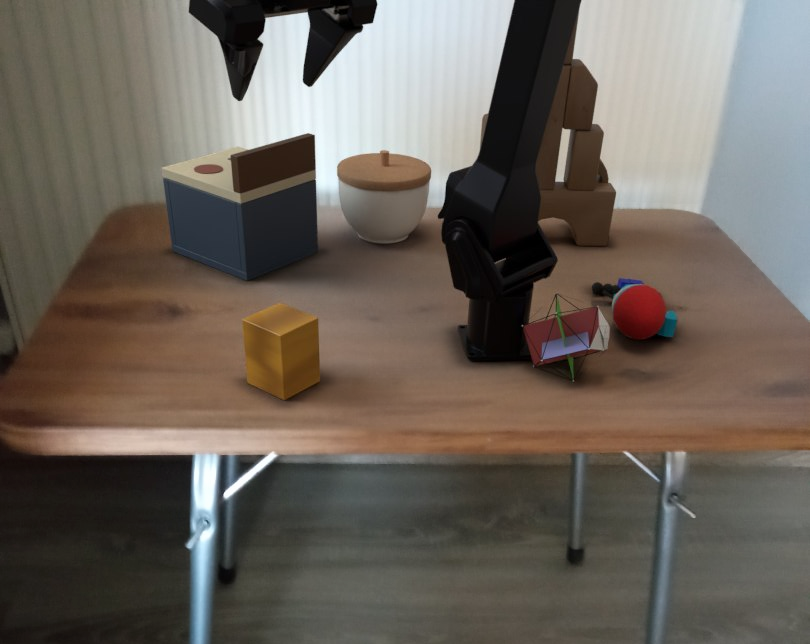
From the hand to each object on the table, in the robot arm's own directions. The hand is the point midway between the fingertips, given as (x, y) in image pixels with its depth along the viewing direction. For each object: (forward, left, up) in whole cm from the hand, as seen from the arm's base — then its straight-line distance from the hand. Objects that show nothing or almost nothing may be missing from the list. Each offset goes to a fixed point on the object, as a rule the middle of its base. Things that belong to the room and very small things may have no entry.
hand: (273, 91), depth 90 cm
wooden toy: (+5, -31, -17) cm, 35 cm away
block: (-29, 0, -17) cm, 33 cm away
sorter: (+1, +4, -17) cm, 17 cm away
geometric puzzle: (-28, -25, -17) cm, 41 cm away
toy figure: (-18, -35, -17) cm, 43 cm away
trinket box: (+6, -12, -17) cm, 22 cm away
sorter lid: (+1, +4, -9) cm, 10 cm away
